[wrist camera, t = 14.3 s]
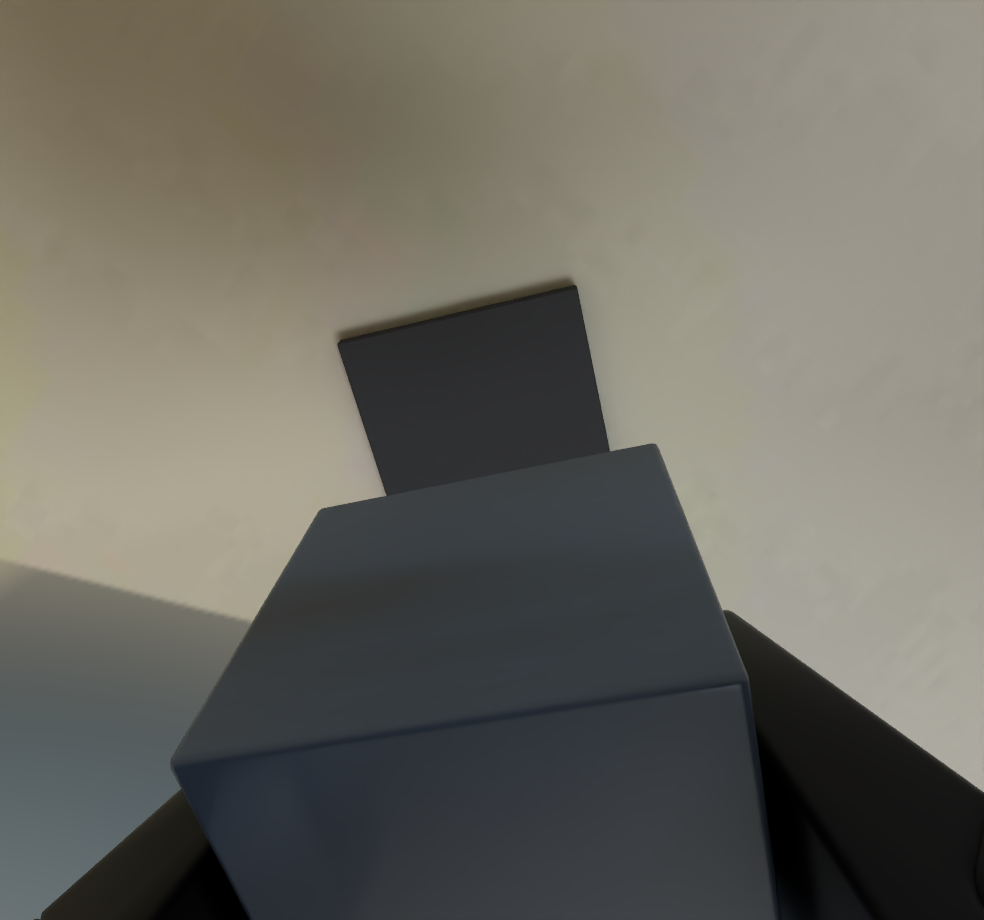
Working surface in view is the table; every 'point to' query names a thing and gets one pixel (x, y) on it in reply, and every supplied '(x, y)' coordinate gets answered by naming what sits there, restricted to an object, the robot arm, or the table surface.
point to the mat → (478, 392)
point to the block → (490, 714)
